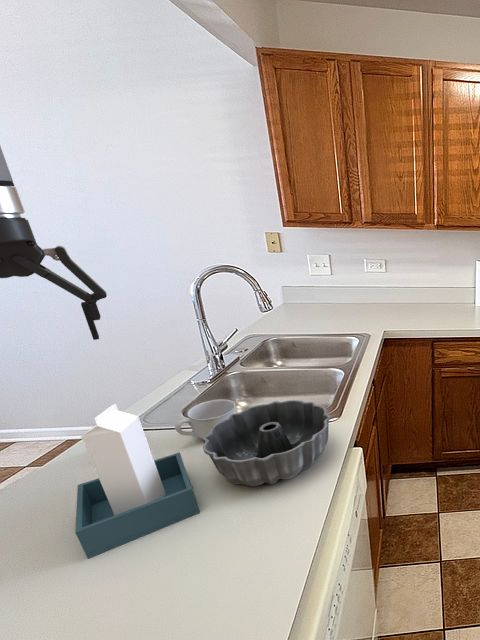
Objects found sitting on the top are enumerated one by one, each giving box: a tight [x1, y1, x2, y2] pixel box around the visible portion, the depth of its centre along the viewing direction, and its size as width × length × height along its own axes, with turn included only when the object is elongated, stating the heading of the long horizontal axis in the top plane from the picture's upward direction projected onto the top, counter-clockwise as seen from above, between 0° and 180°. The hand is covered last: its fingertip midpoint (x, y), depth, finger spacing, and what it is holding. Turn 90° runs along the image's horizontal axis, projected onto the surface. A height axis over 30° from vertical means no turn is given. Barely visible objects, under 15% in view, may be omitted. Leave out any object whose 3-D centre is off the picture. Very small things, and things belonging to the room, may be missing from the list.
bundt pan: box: [202, 399, 331, 487], centre depth 94 cm, size 26×26×10 cm
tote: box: [74, 452, 201, 559], centre depth 79 cm, size 17×17×6 cm
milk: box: [80, 403, 166, 515], centre depth 76 cm, size 6×6×22 cm
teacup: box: [174, 398, 238, 440], centre depth 104 cm, size 14×11×8 cm
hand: (43, 345), depth 69 cm, fingers open, 13 cm apart
